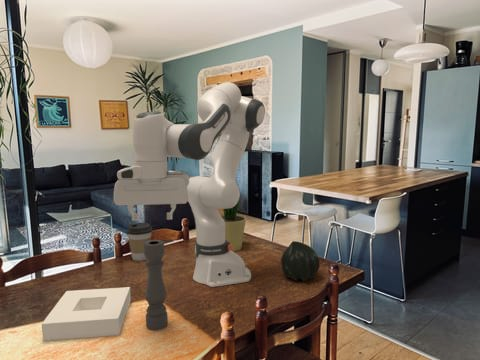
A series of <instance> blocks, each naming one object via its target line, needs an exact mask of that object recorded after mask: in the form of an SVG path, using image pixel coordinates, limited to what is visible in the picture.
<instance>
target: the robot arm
mask: <svg viewBox="0 0 480 360" xmlns="http://www.w3.org/2000/svg"><path fill="white" fill-rule="evenodd" d="M241 92H242V91H241V89H240V88H239V86H238V85H237V84H235V83H233V82H230V81H225V82H222V83H219V84H217V85H215V86H213V87H211V88H210V89H208V90H207V91H206V92H204V93H203V94H202V95H201V96H200V98H199V99H198V100H197V103H196V110H197V114H198V116H199V118H200V119H201V121H202V122H201V123H192V124H191V123H189V124H187V123H183V124H181V123H180V124H179V123H177V124H175V123H174V122H172V121H169V120H168V119H167V118H166V116H165V115H164V113H163V112H161V111H159V110H158V111H145V112H141V113H138V114H137V115H136V116H135V118H134V121H133V126H132V127H133V129H132V130H133V131H132V132H133V133H132V139H133V148H134V153H135V154H134V158H133V160H134V161H133V165H129V166H127V167H125V168H122V169H120V170H118V171H117V173H116V176H117V181H116V182H115V183H114V188H113V203H114V204H115V205H116V206H127V210H128V212H129V213H130V214H131V220H132V221H133V222H134V221H135V222H136V221H139V213H138V212H137V213H136V212H135V211H134V208H135V206H142V205H143V206H145V205H170V208H171V210H170V211H169V212H166V220H168V221H169V220H173V214H174V212H175V210H176V208H177V205H181V204H182V205H184V204H187V203H189V206H190V207H191V212H192V214H193V217H194V223H195V230H196V231H195V236H196V241H195V245H194V249H195V251H194V254H195V257H196V259H195V265H194V266H195V267H194V272H193V275H192V279H193V280H194V281H195V282H196V283H199V284H202V285H207V286H209V287H212V288H214V287H221V286H222V287H223V286H228V285H233V284H234V285H235V284H241V283H248V282H250V281H251V279H252V274H251V270H250V269H249V268H248V267H247V266H246V265H245V261H244V259H243V258H242V257H241V256H240V255H239V254H237V253H236V252H235V251H232V249H233V246H232V245H231V244H230V242H229V241H228V240H227V241H226V240H225V221H224V219H223V218H222V217H221V216H220V215H221V214H220V212H219V210H223V209H228V208H232V207H234V206H235V205H236V204H237V202H238V200H239V201H240V196H241V195H240V194H241V193H240V188H239V187H238V184H237V181H236V175H237V170H238V168H239V164H240V162H241V160H242V158H243V155H244V153H245V150H246V148H247V145H248V142H249V138H250V133H252V132H253V131H254V130H255V129H257V128H258V127H260V125H261V124H262V123H263V121H264V118H265V114H266V109H265V108H266V107H265V105H264V102H262V100H261V101H260V100H258V99H256V98H251V97H247V96H242V93H241ZM219 136H220V137H219ZM217 139H218V141H217V142H216V140H217ZM215 142H216V145H215V147H214V149H213V152H212V153H211V155H210V160H209V161H210V164H211V166H212V168H213V169H212V173H211V176H203V175H197V176H196V175H195V176H192V177H191V176H190V175H189V174H188V173H187V172H185V171H184V170H168V158H180V159H181V158H182V159H189V160H195V161H199V160H203V159H205V158H206V157H207V156H208V155H209V154H210V152H211V150H212V148H213V145H214V143H215Z"/></svg>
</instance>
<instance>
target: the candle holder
mask: <svg viewBox="0 0 480 360" xmlns="http://www.w3.org/2000/svg"><path fill="white" fill-rule="evenodd" d="M164 254H165V241H164V240H161V239H151V240H149V241H146V242H144V255H145V258H146V259H147V260H146V262H145V263H144V265H145V268H147V284H146V287H145V292H144V297H145V301H146V303H147V304H148V307H147V309H146V310H145V311H146V314H145V325H146V326H145V327H146V329H147V330H149V331H159V330H160V331H161V330H162V329H164V328H167V326H168V325H169V323H168V321H169V320H168V312H167V306H166V305H165V304H164V303H165V300H166V299H167V289H166V287H165V283H164V279H163V273H162V272H163V269H162V268H163V267H164V264H165V262H164V260H162V259H163V257H164Z"/></svg>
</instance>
